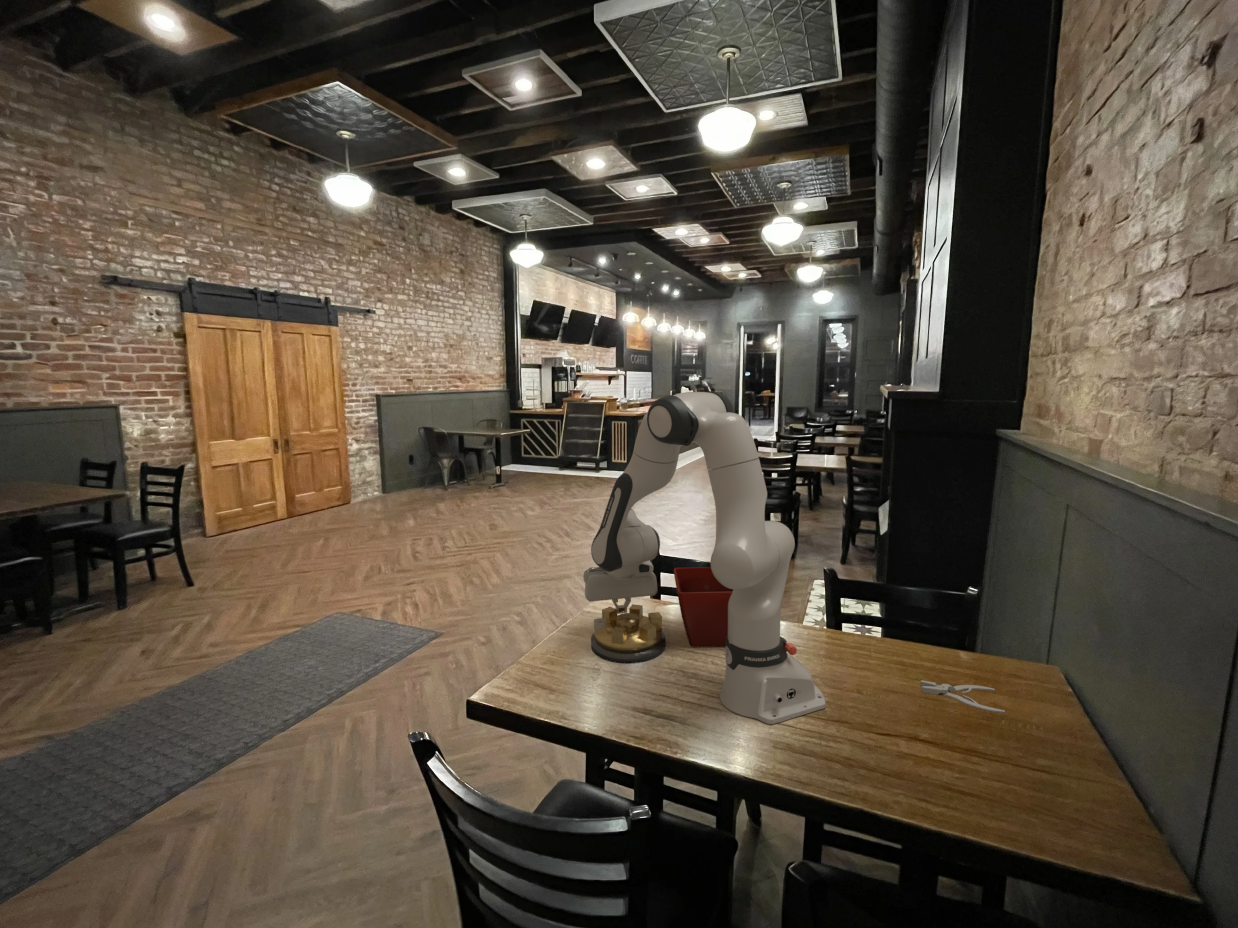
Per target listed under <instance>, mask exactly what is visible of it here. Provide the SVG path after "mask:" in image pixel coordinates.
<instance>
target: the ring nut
mask: <svg viewBox="0 0 1238 928" xmlns="http://www.w3.org/2000/svg"><path fill="white" fill-rule="evenodd" d="M643 608H644V606H643V605H642V604H633V603H632V604H631V606H630V607H629V609H628V611H629V612H627V613H619V614H617V609H616V607H612V606H608V607H606V608H603V609H601V617H600V618H599V617H598V618H593V630H594V632H595V642H596V643H597V645H599V646H600V647H601V648H603V649H605V650H608V651H612V652H616V653H638V652H643V651H647V650H650V649H652V648H654V647H656V646H657V645H658V644H659V643H660V642H661V640H662V632H663V616H662V615H661V612H659V611H655V612H647V613H648V616H646V615H644V613H643V612H644V609H643ZM594 632H593V633H594Z"/></svg>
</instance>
